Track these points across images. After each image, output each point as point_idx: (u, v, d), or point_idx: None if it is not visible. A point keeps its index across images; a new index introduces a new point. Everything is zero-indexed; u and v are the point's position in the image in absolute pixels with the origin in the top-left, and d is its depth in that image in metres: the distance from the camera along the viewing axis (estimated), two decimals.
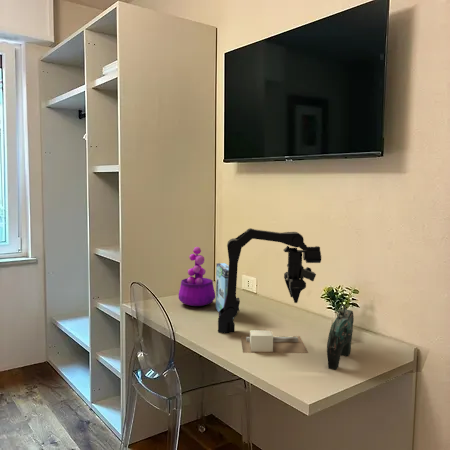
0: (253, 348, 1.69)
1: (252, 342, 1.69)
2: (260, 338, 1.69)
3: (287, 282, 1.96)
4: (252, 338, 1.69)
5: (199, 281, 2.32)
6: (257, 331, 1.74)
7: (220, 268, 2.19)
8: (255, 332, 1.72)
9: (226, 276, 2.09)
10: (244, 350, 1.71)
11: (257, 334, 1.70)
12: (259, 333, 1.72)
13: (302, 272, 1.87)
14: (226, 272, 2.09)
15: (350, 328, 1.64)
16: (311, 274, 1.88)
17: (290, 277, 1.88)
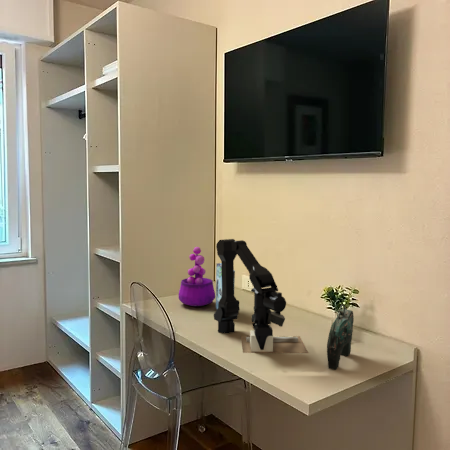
0: (253, 348, 1.69)
1: (252, 342, 1.69)
2: None
3: (255, 327, 1.75)
4: (252, 338, 1.69)
5: (199, 281, 2.32)
6: None
7: (220, 268, 2.19)
8: None
9: None
10: (244, 350, 1.71)
11: None
12: None
13: (269, 317, 1.69)
14: None
15: (350, 328, 1.64)
16: (279, 319, 1.69)
17: (256, 322, 1.69)
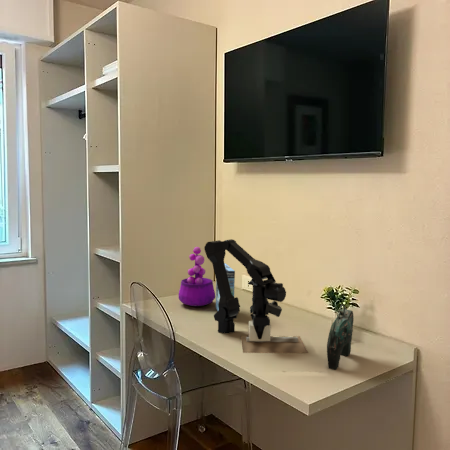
0: (251, 337, 1.77)
1: (250, 332, 1.77)
2: None
3: (253, 317, 1.83)
4: (250, 328, 1.77)
5: (199, 281, 2.32)
6: None
7: None
8: None
9: None
10: (244, 350, 1.71)
11: None
12: None
13: (267, 307, 1.76)
14: None
15: (350, 328, 1.64)
16: (277, 309, 1.77)
17: (254, 313, 1.77)
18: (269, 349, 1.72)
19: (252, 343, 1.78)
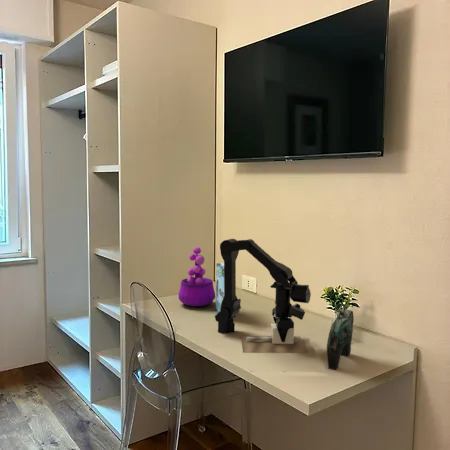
0: (275, 340, 1.77)
1: (274, 334, 1.77)
2: None
3: (275, 320, 1.83)
4: (274, 331, 1.77)
5: (199, 281, 2.32)
6: None
7: (220, 268, 2.19)
8: None
9: None
10: (244, 350, 1.71)
11: None
12: None
13: (290, 310, 1.77)
14: None
15: (350, 328, 1.64)
16: (300, 312, 1.77)
17: (277, 315, 1.77)
18: (269, 349, 1.72)
19: (252, 343, 1.78)
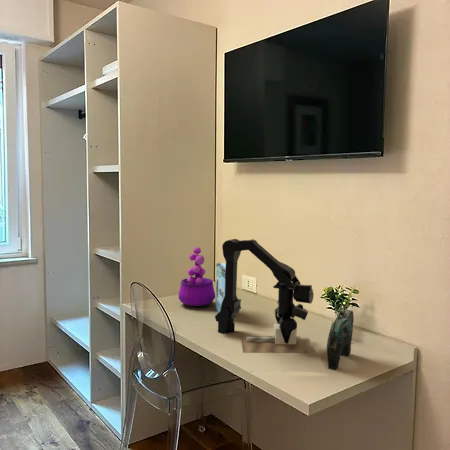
0: (277, 341, 1.77)
1: (276, 335, 1.77)
2: None
3: (278, 319, 1.85)
4: (276, 331, 1.77)
5: (199, 281, 2.32)
6: None
7: (220, 268, 2.19)
8: (278, 326, 1.80)
9: None
10: (244, 350, 1.71)
11: None
12: None
13: (293, 310, 1.77)
14: None
15: (350, 328, 1.64)
16: (303, 312, 1.77)
17: (280, 316, 1.77)
18: (269, 349, 1.72)
19: (252, 343, 1.78)
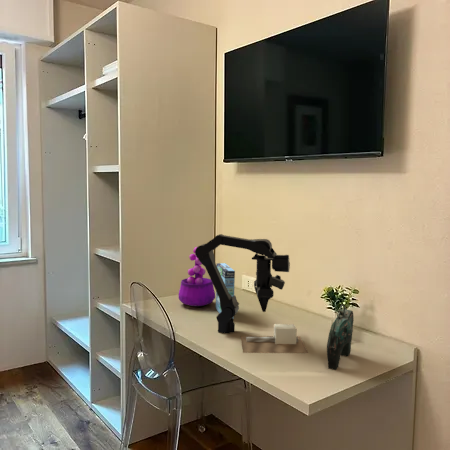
0: (277, 341, 1.77)
1: (276, 335, 1.77)
2: (284, 331, 1.77)
3: (256, 290, 1.92)
4: (276, 331, 1.77)
5: (199, 281, 2.32)
6: (281, 324, 1.82)
7: (220, 268, 2.19)
8: (278, 326, 1.80)
9: (226, 276, 2.09)
10: (244, 350, 1.71)
11: (281, 327, 1.78)
12: (282, 326, 1.80)
13: (270, 280, 1.83)
14: (226, 272, 2.09)
15: (350, 328, 1.64)
16: (280, 282, 1.84)
17: (258, 285, 1.84)
18: (269, 349, 1.72)
19: (252, 343, 1.78)
